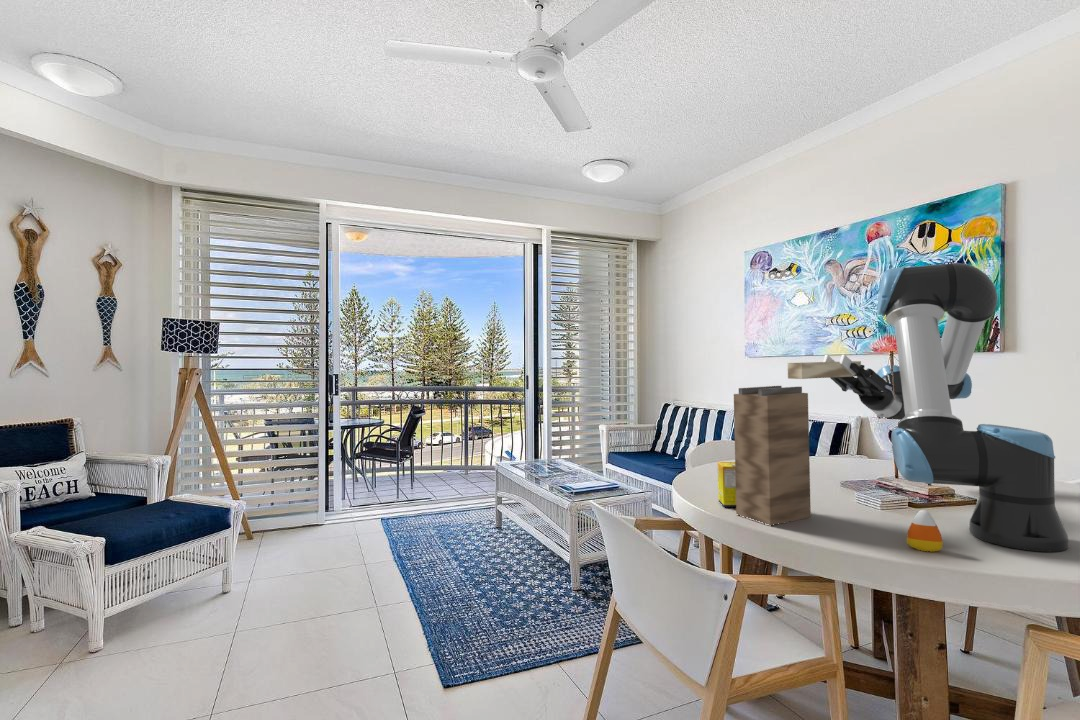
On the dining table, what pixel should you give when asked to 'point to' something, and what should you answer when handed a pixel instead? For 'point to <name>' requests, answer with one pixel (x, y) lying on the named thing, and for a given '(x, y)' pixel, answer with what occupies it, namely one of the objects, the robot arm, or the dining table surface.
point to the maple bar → (817, 370)
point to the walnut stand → (772, 454)
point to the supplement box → (727, 484)
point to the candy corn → (924, 533)
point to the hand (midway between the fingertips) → (833, 359)
